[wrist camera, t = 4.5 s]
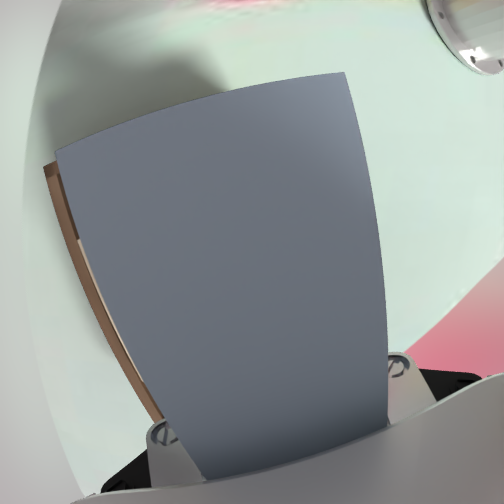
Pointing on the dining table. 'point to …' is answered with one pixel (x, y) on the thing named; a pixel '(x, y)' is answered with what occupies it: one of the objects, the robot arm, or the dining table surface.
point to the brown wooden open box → (94, 288)
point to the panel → (242, 268)
